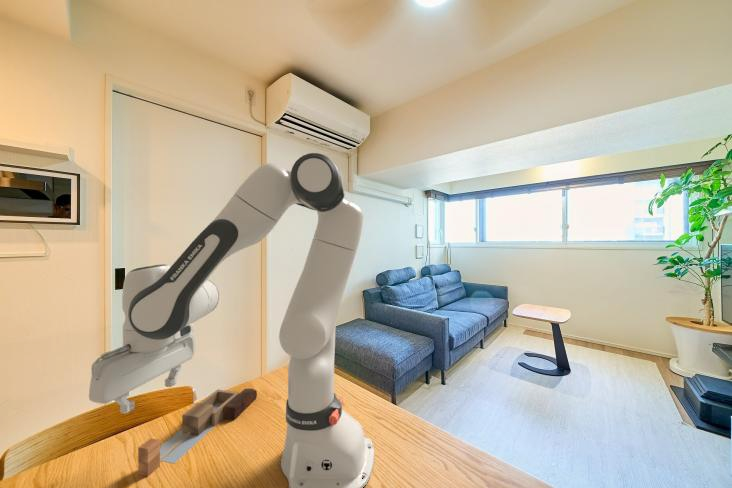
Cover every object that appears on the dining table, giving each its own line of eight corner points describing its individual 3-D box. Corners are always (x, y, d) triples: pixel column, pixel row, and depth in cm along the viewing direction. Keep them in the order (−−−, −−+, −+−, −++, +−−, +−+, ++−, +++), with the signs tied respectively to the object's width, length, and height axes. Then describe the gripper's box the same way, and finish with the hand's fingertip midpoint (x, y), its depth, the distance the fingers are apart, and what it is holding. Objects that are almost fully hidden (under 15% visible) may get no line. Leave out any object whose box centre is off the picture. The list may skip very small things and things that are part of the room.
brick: (234, 424, 72) (234, 408, 72) (222, 422, 72) (222, 406, 72) (257, 401, 82) (257, 387, 82) (246, 400, 83) (246, 386, 83)
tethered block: (213, 422, 71) (213, 401, 71) (152, 477, 54) (152, 450, 54) (198, 420, 72) (198, 399, 72) (134, 473, 55) (133, 446, 55)
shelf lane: (239, 406, 79) (239, 392, 79) (174, 467, 58) (174, 448, 58) (217, 403, 81) (217, 389, 81) (146, 461, 59) (146, 443, 59)
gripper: (105, 359, 45) (106, 434, 46) (199, 323, 66) (200, 375, 66) (78, 356, 47) (80, 429, 47) (179, 321, 67) (179, 373, 67)
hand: (150, 397), depth 56 cm, fingers open, 8 cm apart
